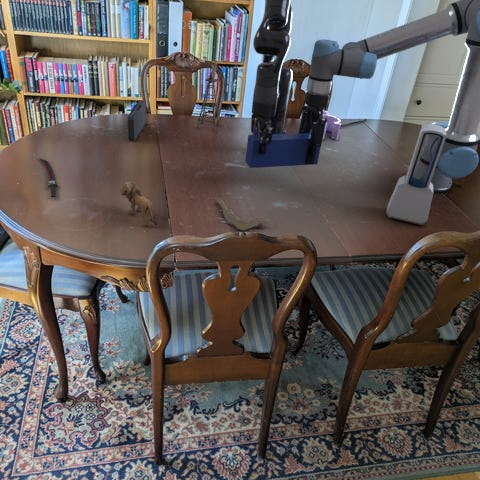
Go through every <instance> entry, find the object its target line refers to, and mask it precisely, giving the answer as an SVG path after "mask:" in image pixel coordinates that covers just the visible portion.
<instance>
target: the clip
mask: <svg viewBox="0 0 480 480" xmlns="http://www.w3.org/2000/svg"><path fill="white" fill-rule="evenodd" d="M323 117H324V118H327V122H326V124H325V129H324V134H323V139H322V141H324V140H325V137H326V132H330V133H331V136H330V138H331V139H333V140H335V141H338V139H339V135H340V130H341V127H342V126H341V125H342V124H341V122H342V120H341V118H339V117H337V116H335V115H332V114H330V112H329V111H327V110H325V109H323ZM314 123H317V122H314ZM340 126H341V127H340ZM310 133H311V131H310Z"/></svg>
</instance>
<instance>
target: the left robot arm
mask: <svg viewBox="0 0 480 480" xmlns="http://www.w3.org/2000/svg"><path fill="white" fill-rule="evenodd" d="M292 24H293V6H292V3H291V0H265V1H264V11H263V17H262V20H261V22H260V24H259V26H258V28H257V30H256V32H255V35H254V37H253V41H252V46H253V49H254V51H255V52H256V54H258V55H262V62H261V63H259V64H258V65H257V66H256V74H255V84H254V88H253V93H252V94H253V95H252V104H251V117H250V118H251V122H250V132H251V134H252V135H258V136H259V137H260V145H259V154H260V155H265V154H266V146H267V144H270V143H271V139H272V135H273V134H286V130H284V128H285V122H286V115H287V108H288V103H289V99H290V93H291V88H292V83H293V75H294V74H293V70H292V69H291V68H289V67H285V66H283V64H284V61H285V59H286V57H287V54H288V52H289V50H290V46H291V43H292V42H291V36H290V34H291V31H292V26H293V25H292ZM365 121H366V122H367V118H364V119H361V120H357V121H352V122H348V123H344V124H343V123H342V124H341V126H340V128H341V127H345V126H350V125H354V124H358V123H362V122H365ZM262 137H263V140H262Z"/></svg>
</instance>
